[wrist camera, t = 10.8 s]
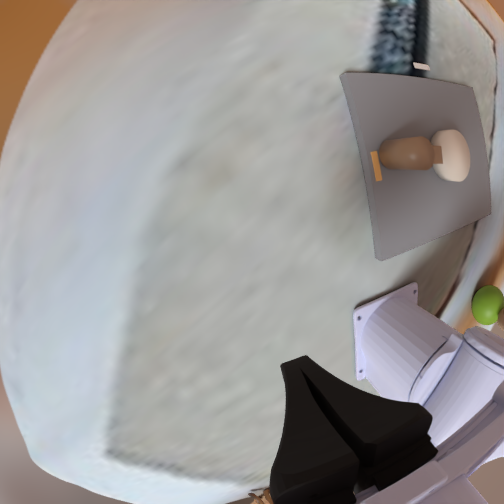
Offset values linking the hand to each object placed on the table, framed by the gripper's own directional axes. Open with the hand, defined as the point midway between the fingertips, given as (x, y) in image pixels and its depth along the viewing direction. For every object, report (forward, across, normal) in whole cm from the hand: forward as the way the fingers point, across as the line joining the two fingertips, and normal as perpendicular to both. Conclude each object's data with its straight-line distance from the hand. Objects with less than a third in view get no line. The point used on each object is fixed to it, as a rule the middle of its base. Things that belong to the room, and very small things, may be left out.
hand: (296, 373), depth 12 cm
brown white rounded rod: (+8, -18, -8) cm, 21 cm away
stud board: (+9, -21, -8) cm, 24 cm away
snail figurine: (+10, -29, +12) cm, 33 cm away
